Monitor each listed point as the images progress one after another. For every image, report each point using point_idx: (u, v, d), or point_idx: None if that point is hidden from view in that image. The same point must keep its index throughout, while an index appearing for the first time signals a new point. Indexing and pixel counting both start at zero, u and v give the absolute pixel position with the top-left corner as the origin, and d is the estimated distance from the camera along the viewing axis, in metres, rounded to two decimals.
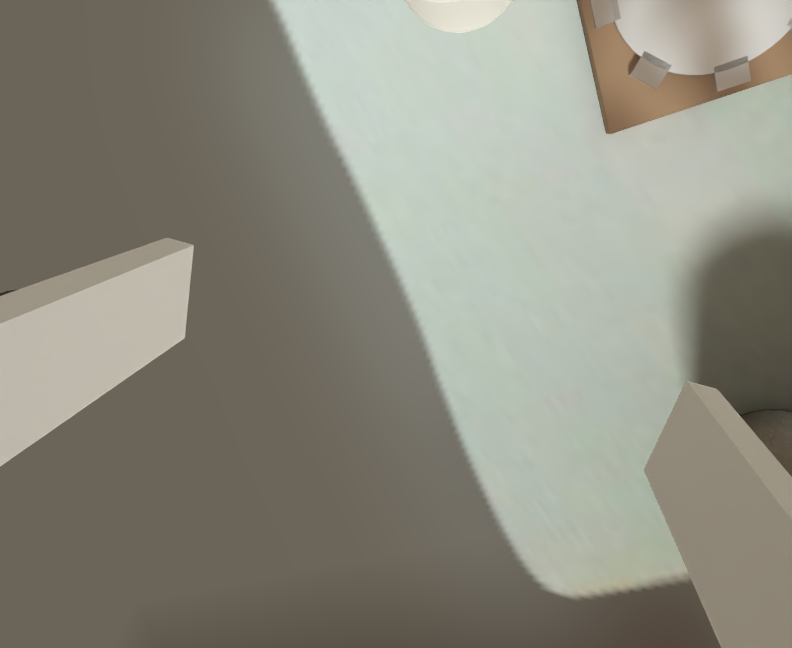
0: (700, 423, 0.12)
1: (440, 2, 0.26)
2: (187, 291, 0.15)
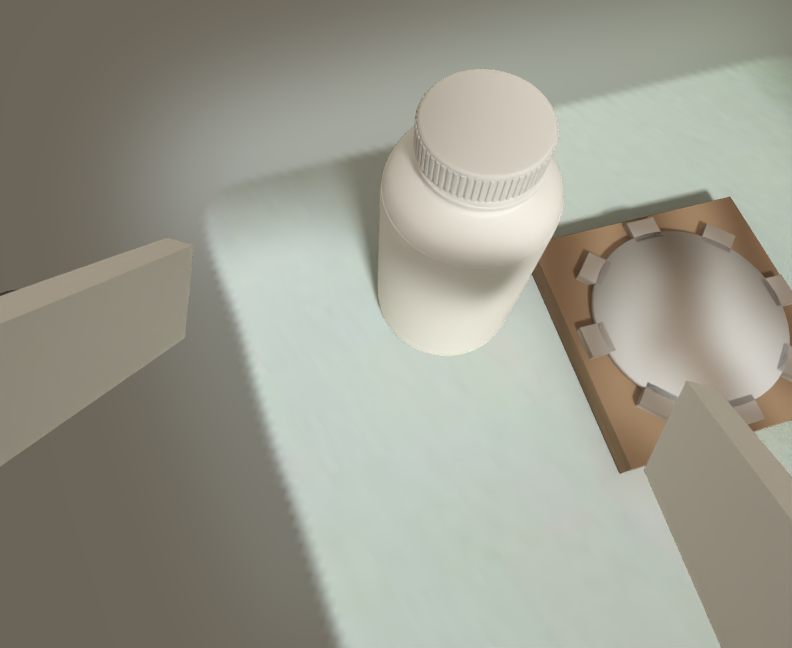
0: (700, 423, 0.12)
1: (466, 268, 0.23)
2: (187, 291, 0.15)
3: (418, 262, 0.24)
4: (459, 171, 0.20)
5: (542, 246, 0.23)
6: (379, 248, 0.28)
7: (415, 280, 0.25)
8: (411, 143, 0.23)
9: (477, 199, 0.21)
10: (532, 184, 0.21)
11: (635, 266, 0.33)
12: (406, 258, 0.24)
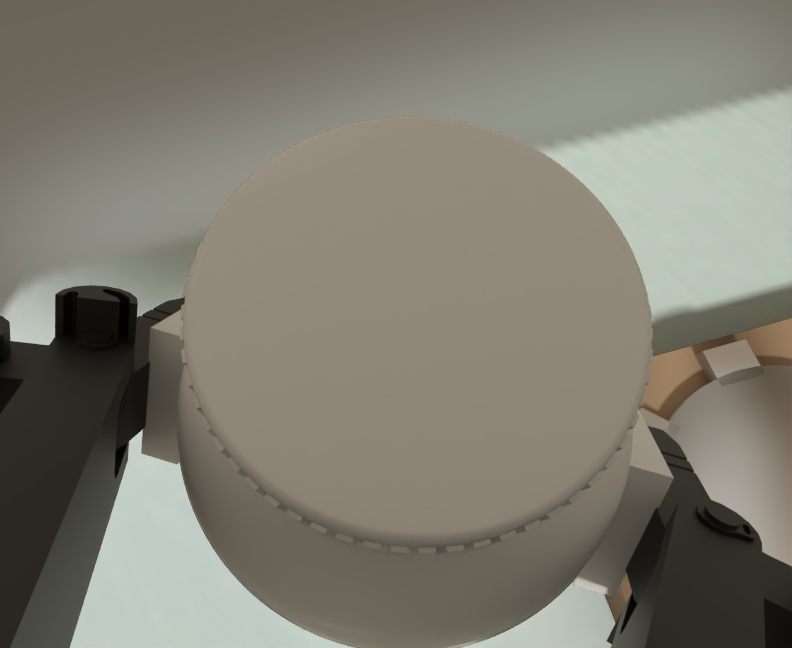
0: None
1: None
2: None
3: None
4: None
5: None
6: None
7: None
8: None
9: (386, 547, 0.06)
10: None
11: (722, 434, 0.19)
12: None
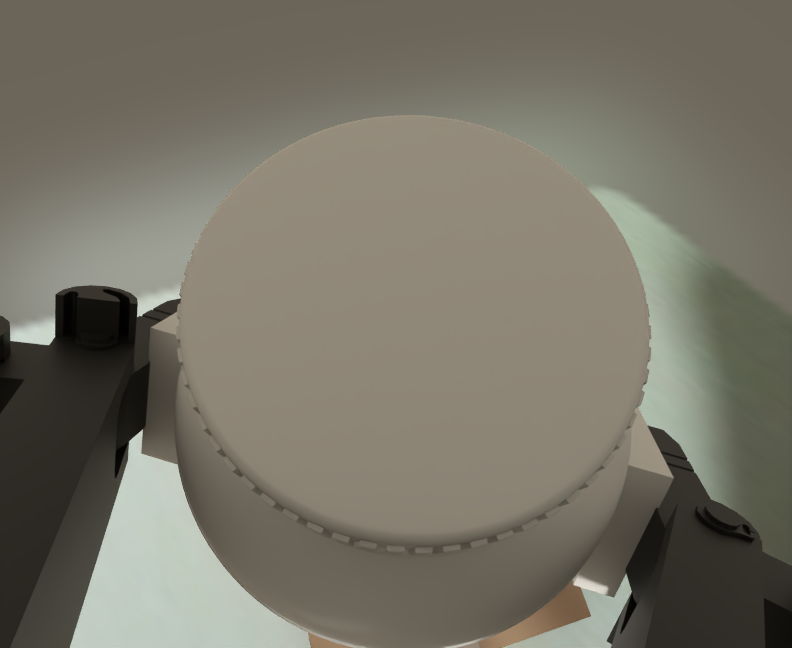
0: None
1: None
2: None
3: None
4: (300, 507, 0.05)
5: (579, 568, 0.09)
6: None
7: None
8: None
9: None
10: None
11: None
12: None
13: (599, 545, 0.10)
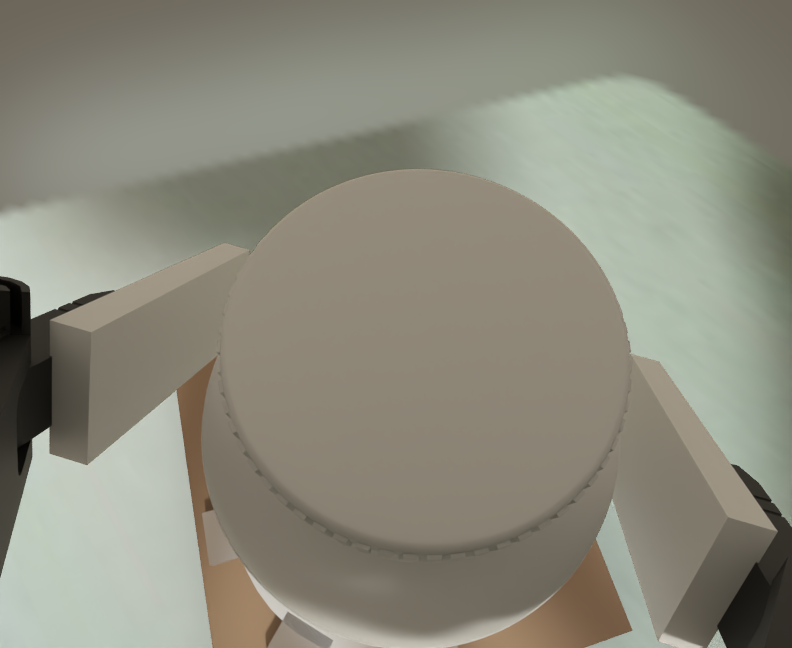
0: (638, 391, 0.13)
1: (387, 646, 0.09)
2: None
3: None
4: (328, 520, 0.06)
5: (571, 573, 0.10)
6: None
7: None
8: None
9: (397, 554, 0.07)
10: None
11: None
12: None
13: (689, 600, 0.09)
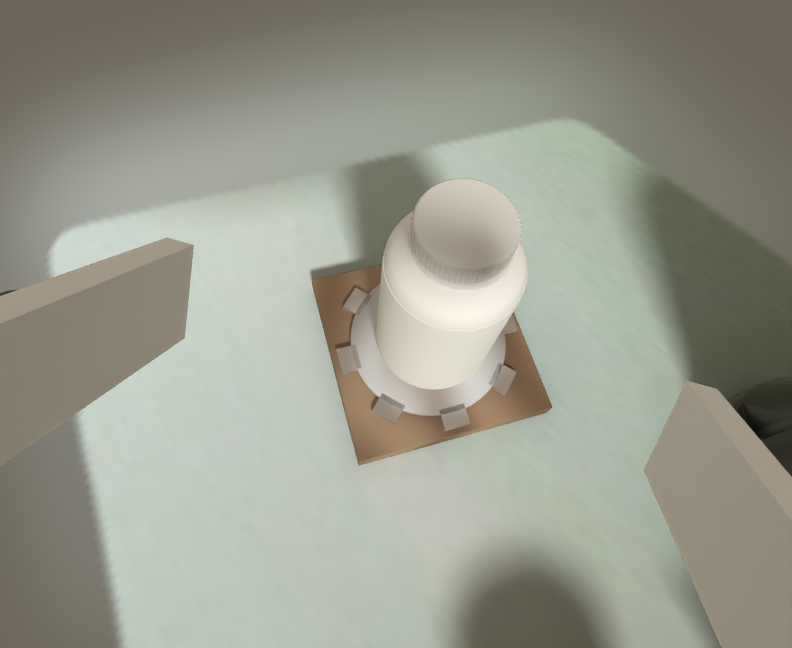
0: (701, 423, 0.12)
1: (450, 330, 0.29)
2: (187, 291, 0.15)
3: (412, 323, 0.30)
4: (444, 263, 0.26)
5: (510, 312, 0.29)
6: (379, 304, 0.34)
7: (409, 335, 0.31)
8: (407, 229, 0.29)
9: (458, 282, 0.27)
10: (501, 270, 0.27)
11: None
12: (402, 319, 0.30)
13: None
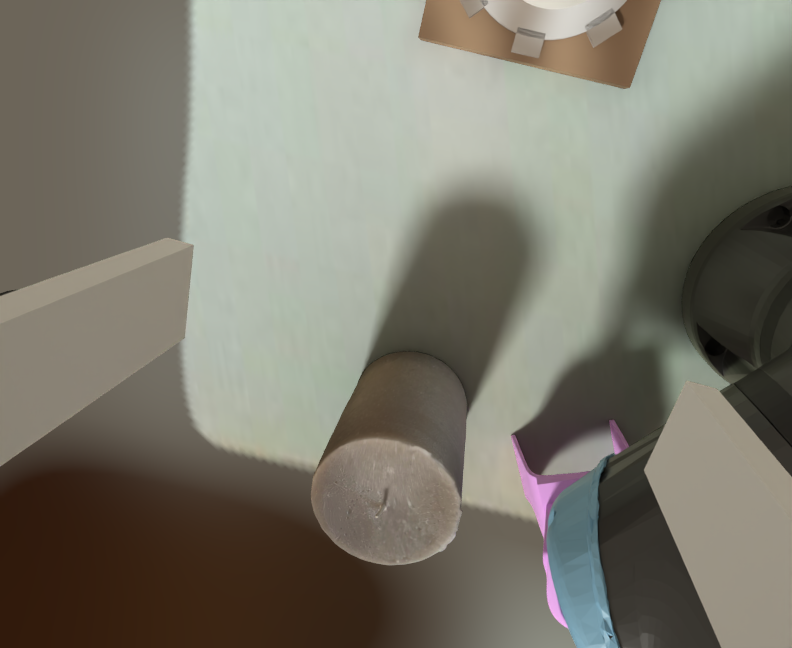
0: (701, 423, 0.12)
1: None
2: (187, 291, 0.15)
3: None
4: None
5: None
6: None
7: None
8: None
9: None
10: None
11: None
12: None
13: None
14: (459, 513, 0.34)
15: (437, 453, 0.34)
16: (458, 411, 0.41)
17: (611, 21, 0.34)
